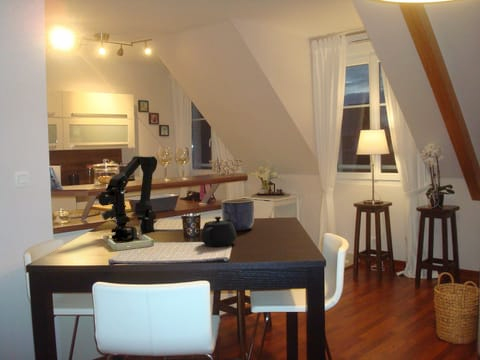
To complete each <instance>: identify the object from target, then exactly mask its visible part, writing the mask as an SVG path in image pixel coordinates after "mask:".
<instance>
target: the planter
mask: <svg viewBox="0 0 480 360" xmlns="http://www.w3.org/2000/svg"><path fill="white" fill-rule="evenodd" d="M254 203H255V202H254V199H251V198H232V199H224V200H221V218H222V220H221V221H227V220H228V219H229V218H231V221H230V222H231V223H232V225H233V226H234V229H235V231H236V232H241V231H242V232H243V231H248V230H249V229H251V227H253V225H254V222H255V205H254Z"/></svg>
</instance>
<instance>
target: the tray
mask: <svg viewBox="0 0 480 360" xmlns="http://www.w3.org/2000/svg"><path fill="white" fill-rule="evenodd" d="M112 240H113V239H112V238H109V239H108V243H107V245H108V247H110V249H112V250H113V251H114V252H115V251H116V252H117V251H122V250H130V249H137V248H138V249H140V248H145V247H148V248H149V247H154V246H155V242H154V239H153V238H152V237H149V236H147V235H146V234H142V239H141V240H139V241H137V240H136V241H131V242H119V243H117V242H113V241H112ZM127 246H130V247H127Z"/></svg>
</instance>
